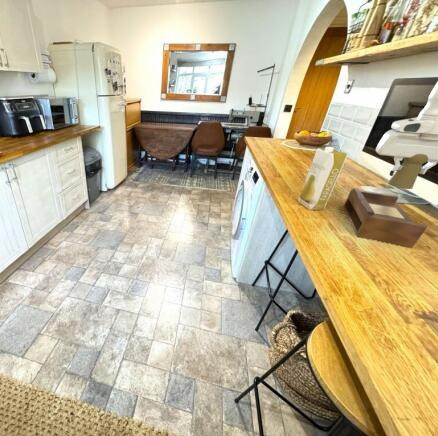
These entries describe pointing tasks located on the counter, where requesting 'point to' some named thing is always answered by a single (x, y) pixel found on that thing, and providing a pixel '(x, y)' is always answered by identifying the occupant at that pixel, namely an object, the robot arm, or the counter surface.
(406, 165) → the pepper mill
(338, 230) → the counter surface
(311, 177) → the juice carton
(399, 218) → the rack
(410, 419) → the counter surface
